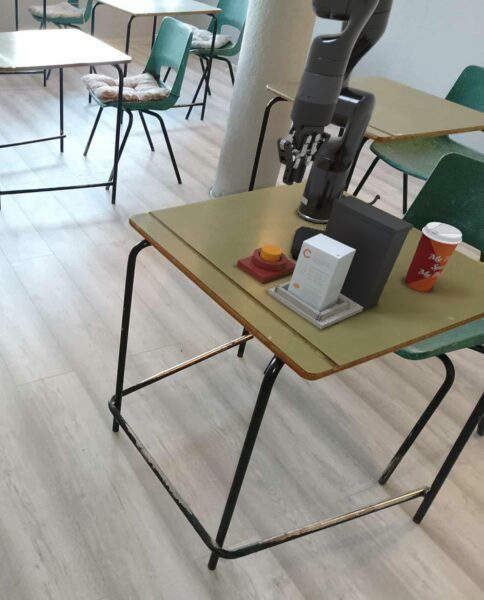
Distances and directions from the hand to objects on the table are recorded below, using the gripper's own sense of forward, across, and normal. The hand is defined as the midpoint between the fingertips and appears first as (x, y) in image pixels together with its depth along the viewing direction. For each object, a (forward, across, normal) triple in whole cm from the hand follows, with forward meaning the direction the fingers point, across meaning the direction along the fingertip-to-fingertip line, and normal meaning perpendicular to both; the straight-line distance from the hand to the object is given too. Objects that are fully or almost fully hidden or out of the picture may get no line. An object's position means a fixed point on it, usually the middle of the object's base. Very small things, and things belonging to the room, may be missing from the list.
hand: (291, 182), depth 116 cm
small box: (+20, -2, -14) cm, 25 cm away
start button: (+18, 0, 0) cm, 18 cm away
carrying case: (+21, +17, 0) cm, 27 cm away
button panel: (+21, 0, 0) cm, 21 cm away
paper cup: (+21, +27, -20) cm, 40 cm away
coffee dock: (+21, +2, -14) cm, 25 cm away
